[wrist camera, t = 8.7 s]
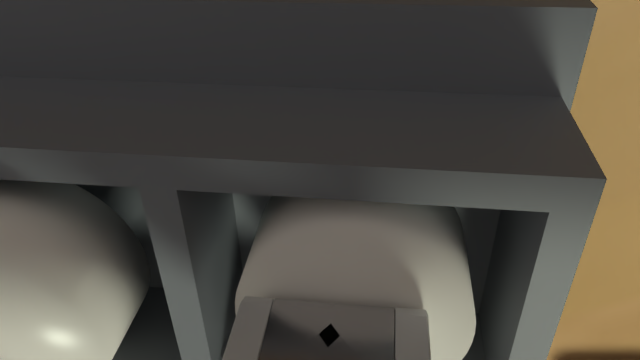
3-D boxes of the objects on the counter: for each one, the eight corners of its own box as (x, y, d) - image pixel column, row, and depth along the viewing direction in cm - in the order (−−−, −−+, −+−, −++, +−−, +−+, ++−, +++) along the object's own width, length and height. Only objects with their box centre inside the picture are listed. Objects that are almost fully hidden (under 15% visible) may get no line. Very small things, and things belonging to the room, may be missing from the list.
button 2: (478, 164, 9) (494, 239, 8) (451, 322, 12) (459, 406, 10) (251, 152, 10) (221, 221, 8) (267, 307, 12) (246, 384, 10)
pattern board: (553, -37, 11) (660, 73, 6) (462, 391, 19) (481, 577, 14) (-276, -46, 13) (-637, 33, 8) (-44, 342, 21) (-168, 489, 16)
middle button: (125, 174, 9) (65, 253, 8) (166, 331, 12) (127, 418, 10) (-87, 162, 10) (-186, 233, 8) (-8, 315, 12) (-73, 395, 10)
